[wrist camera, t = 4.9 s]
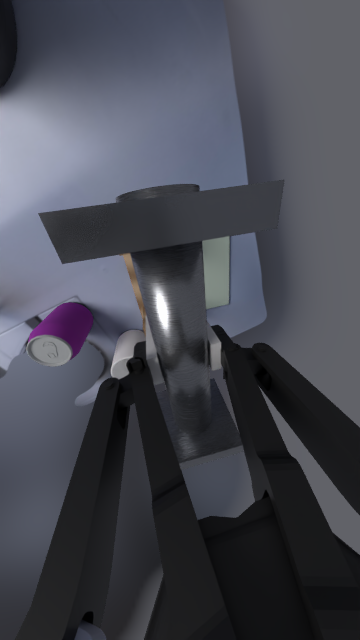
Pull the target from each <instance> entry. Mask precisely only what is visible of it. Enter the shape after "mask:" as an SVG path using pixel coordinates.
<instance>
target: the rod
mask: <svg viewBox="0 0 360 640" xmlns="http://www.w3.org/2000/svg"><path fill="white" fill-rule="evenodd" d="M283 186H284V180H279V181H272V182H264V183H258V184H251V185H243V186H235V187H228V188H221V189H213V190H206V191H200V188H199V186H198V185H195V184H176V185H166V186H158V187H152V188H146V189H141V190H136V191H132V192H128V193H125V194H122V195H120V196H118V197H116V203H111V204H104V205H96V206H89V207H82V208H74V209H67V210H60V211H53V212H45V213H38V214H39V216H40V218H41V220H42V222H43V225H44V227H45V229H46V231H47V233H48V235H49V237H50V239H51V241H52V243H53V245H54V247H55V250H56V252H57V254H58V256H59V258H60V260H61V262H62V264H65V263H71V262H77V261H83V260H89V259H95V258H101V257H108V256H114V255H120V254H126V253H130V255H131V259H132V263H133V267H134V270H135V274H136V278H137V282H138V285H139V289H140V293H141V296H142V300H143V304H144V308H145V311H146V315H147V319H148V323H149V326H150V330H151V334H152V338H153V341H154V345H155V349H156V351H157V355H158V359H159V363H160V366H161V370H162V374H163V379H164V382H165V385H166V390H165V391H160V392H156V395H157V398H158V401H159V404H160V407H161V410H162V413H163V416H164V419H165V422H166V425H167V428H168V431H169V435H170V438H171V441H172V444H173V447H174V450H175V453H176V456H177V459H178V462H179V465H180V468H181V470H183V469H186V468H189V467H193V466H196V465H200V464H203V463H207V462H210V461H213V460H217V459H220V458H223V457H227V456H230V455H234V454H237V453H240V452H243V450H244V449H243V445H242V441H241V437H240V434H239V432H238V430H237V428H236V425H235V423H234V421H233V419H232V417H231V414H230V412H229V410H228V408H227V406H226V404H225V401H224V399H223V397H222V395H221V393H220V390H219V388H218V386H217V384H216V382H215V379H214V378H213V379H210V374H209V355H208V336H207V318H206V299H205V281H204V262H203V244H202V241H204V240H210V239H216V238H222V237H228V236H234V235H240V234H246V233H252V232H258V231H263V230H270V229H276V228H277V226H278V219H279V212H280V206H281V199H282V193H283Z"/></svg>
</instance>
